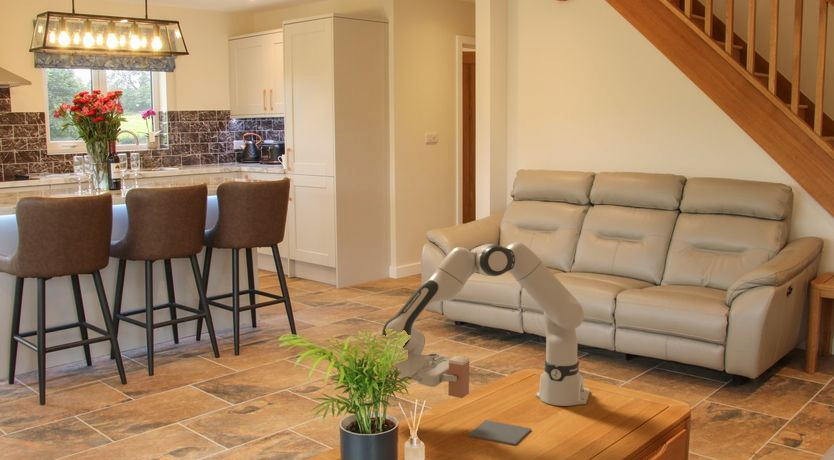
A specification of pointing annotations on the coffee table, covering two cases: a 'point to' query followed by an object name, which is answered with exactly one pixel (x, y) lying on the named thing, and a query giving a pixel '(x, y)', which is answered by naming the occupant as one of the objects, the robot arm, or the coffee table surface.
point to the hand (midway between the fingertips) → (461, 375)
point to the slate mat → (500, 432)
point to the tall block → (459, 376)
